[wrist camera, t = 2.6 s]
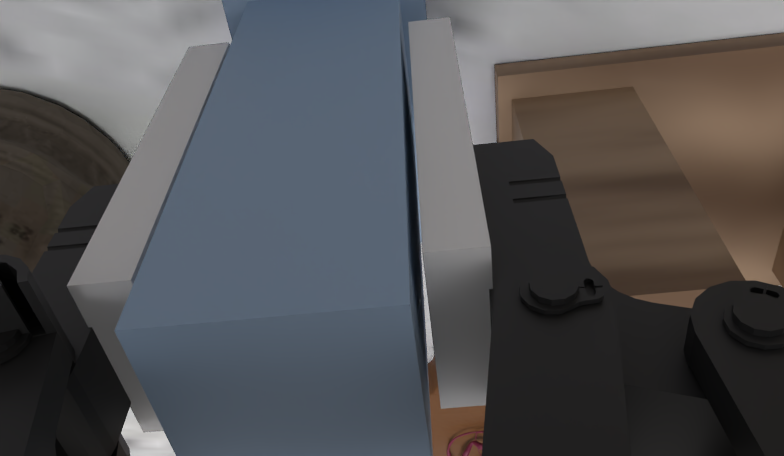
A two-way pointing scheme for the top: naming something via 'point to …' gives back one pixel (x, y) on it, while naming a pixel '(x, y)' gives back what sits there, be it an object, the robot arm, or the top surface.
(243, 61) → the light blue forked piece
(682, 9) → the top surface
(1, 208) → the beer stein
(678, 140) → the stand
